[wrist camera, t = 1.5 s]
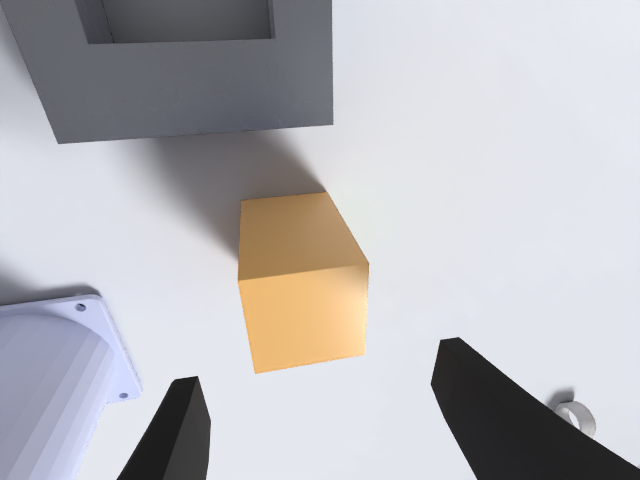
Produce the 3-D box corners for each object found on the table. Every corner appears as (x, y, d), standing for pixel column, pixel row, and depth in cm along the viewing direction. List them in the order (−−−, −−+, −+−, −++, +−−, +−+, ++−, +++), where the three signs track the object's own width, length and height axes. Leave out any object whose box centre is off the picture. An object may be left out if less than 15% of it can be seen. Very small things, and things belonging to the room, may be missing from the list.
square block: (252, 272, 19) (254, 373, 13) (241, 200, 17) (237, 281, 11) (328, 262, 20) (364, 354, 14) (327, 191, 17) (368, 263, 11)
